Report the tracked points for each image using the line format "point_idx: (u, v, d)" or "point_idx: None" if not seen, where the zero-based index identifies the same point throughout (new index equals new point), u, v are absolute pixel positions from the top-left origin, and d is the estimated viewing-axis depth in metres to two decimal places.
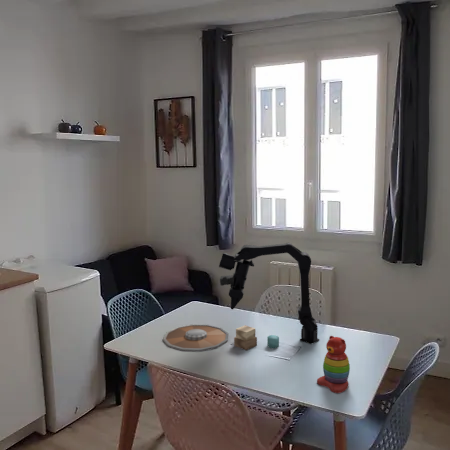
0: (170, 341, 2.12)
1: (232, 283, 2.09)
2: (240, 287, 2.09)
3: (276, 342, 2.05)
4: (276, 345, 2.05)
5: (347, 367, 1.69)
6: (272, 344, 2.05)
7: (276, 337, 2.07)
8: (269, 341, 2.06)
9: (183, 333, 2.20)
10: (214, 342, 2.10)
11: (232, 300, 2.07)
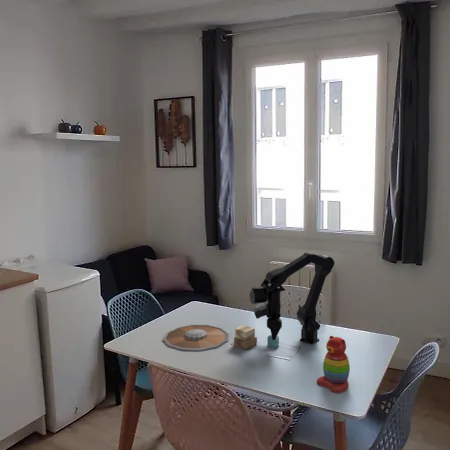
0: (170, 341, 2.11)
1: (267, 314, 2.03)
2: (277, 316, 2.03)
3: (276, 342, 2.05)
4: (276, 345, 2.05)
5: (347, 367, 1.69)
6: (272, 344, 2.05)
7: (276, 337, 2.07)
8: (269, 341, 2.06)
9: (183, 333, 2.20)
10: (214, 342, 2.10)
11: (272, 331, 2.01)
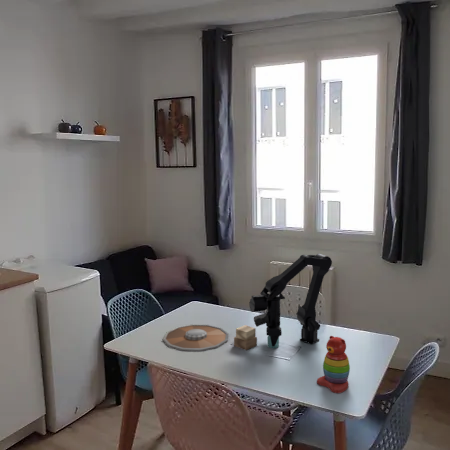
0: (170, 341, 2.11)
1: (267, 322, 2.03)
2: (276, 324, 2.03)
3: (276, 342, 2.05)
4: (276, 345, 2.05)
5: (347, 367, 1.69)
6: None
7: None
8: (269, 341, 2.06)
9: (183, 333, 2.20)
10: (214, 342, 2.10)
11: (271, 337, 2.03)
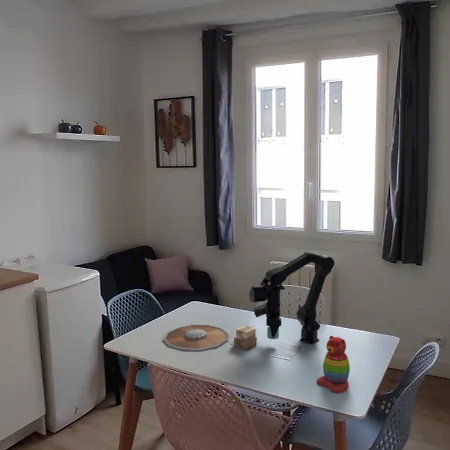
0: (170, 341, 2.11)
1: (267, 312, 2.02)
2: (276, 314, 2.03)
3: (276, 333, 2.04)
4: (276, 336, 2.05)
5: (347, 367, 1.69)
6: None
7: None
8: (269, 332, 2.05)
9: (183, 333, 2.20)
10: (214, 342, 2.10)
11: (271, 328, 2.02)
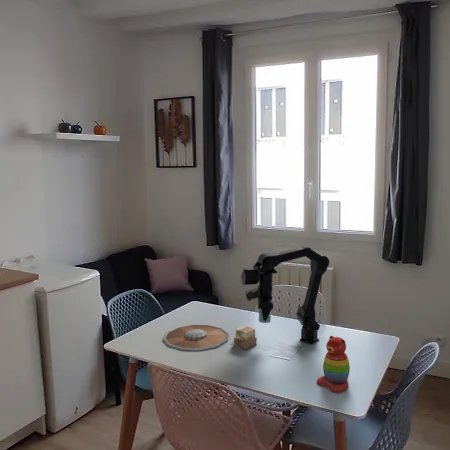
0: (170, 341, 2.11)
1: (259, 296, 2.01)
2: (268, 298, 2.02)
3: (268, 316, 2.03)
4: (268, 320, 2.04)
5: (347, 367, 1.69)
6: None
7: None
8: (261, 315, 2.04)
9: (183, 333, 2.20)
10: (214, 342, 2.10)
11: (263, 311, 2.01)
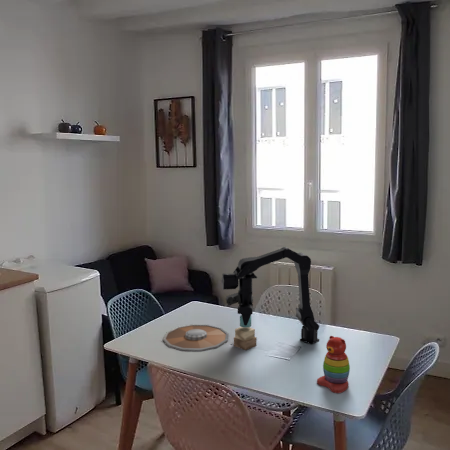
0: (170, 341, 2.11)
1: (239, 301, 2.02)
2: (248, 303, 2.02)
3: (248, 321, 2.04)
4: (248, 324, 2.04)
5: (347, 367, 1.69)
6: None
7: None
8: (241, 320, 2.05)
9: (183, 333, 2.20)
10: (214, 342, 2.10)
11: (243, 316, 2.02)
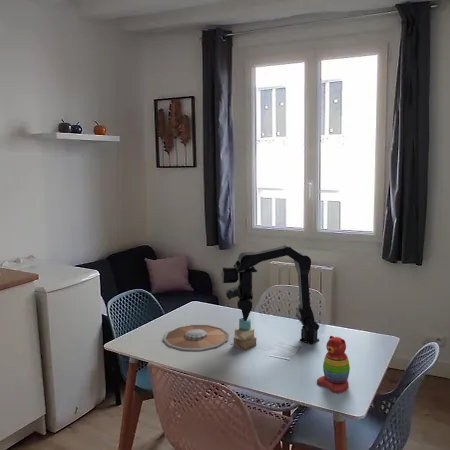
0: (170, 341, 2.11)
1: (239, 294, 2.02)
2: (248, 296, 2.02)
3: (248, 324, 2.05)
4: (248, 327, 2.05)
5: (347, 367, 1.69)
6: (243, 326, 2.04)
7: (248, 319, 2.06)
8: (241, 323, 2.05)
9: (183, 333, 2.20)
10: (214, 342, 2.10)
11: (243, 312, 2.00)
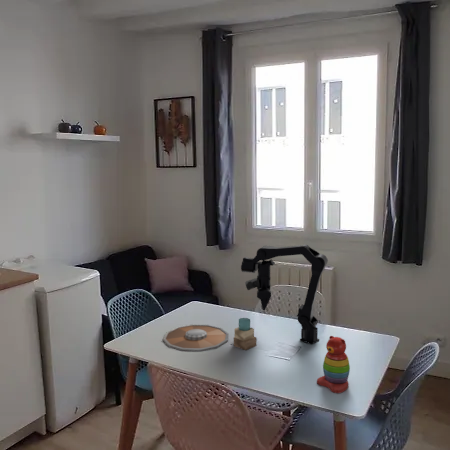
0: (170, 341, 2.11)
1: (258, 285, 2.15)
2: (266, 287, 2.16)
3: (247, 324, 2.04)
4: (247, 327, 2.05)
5: (347, 367, 1.69)
6: (243, 326, 2.04)
7: (247, 319, 2.06)
8: (240, 323, 2.05)
9: (183, 333, 2.20)
10: (214, 342, 2.10)
11: (262, 301, 2.13)
